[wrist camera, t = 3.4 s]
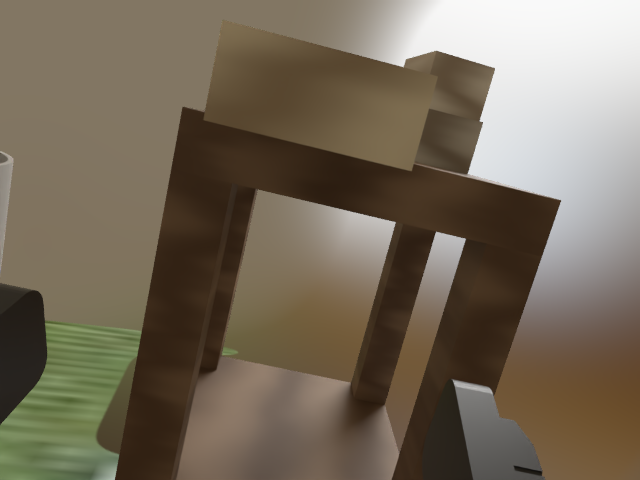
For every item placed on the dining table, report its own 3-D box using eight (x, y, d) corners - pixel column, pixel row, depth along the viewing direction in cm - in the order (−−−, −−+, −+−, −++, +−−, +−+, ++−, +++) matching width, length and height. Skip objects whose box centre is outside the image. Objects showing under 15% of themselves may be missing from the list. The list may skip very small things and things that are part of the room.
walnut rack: (341, 518, 45) (444, 167, 39) (366, 765, 28) (561, 200, 21) (163, 485, 44) (238, 116, 38) (70, 722, 27) (182, 106, 20)
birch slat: (337, 141, 34) (344, 111, 34) (411, 171, 11) (437, 76, 10) (272, 125, 34) (278, 95, 34) (203, 119, 11) (222, 19, 10)
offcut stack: (439, 166, 35) (465, 78, 34) (467, 174, 29) (499, 67, 28) (378, 151, 35) (402, 61, 33) (394, 156, 29) (424, 47, 27)
